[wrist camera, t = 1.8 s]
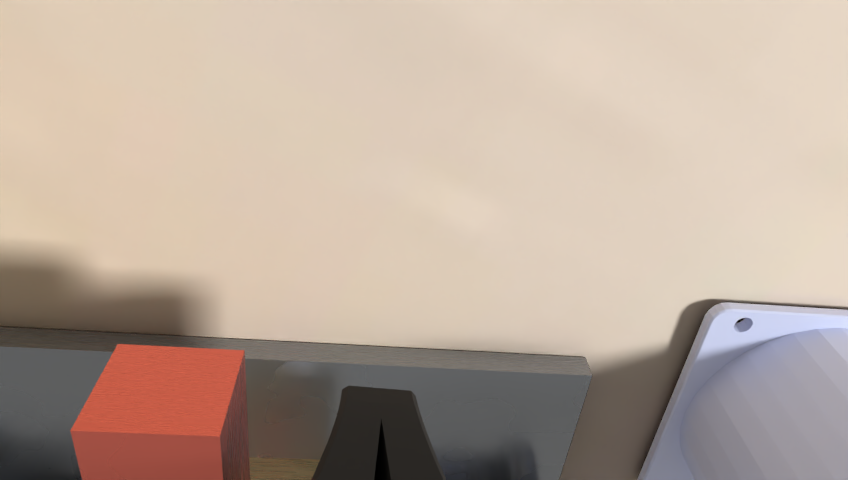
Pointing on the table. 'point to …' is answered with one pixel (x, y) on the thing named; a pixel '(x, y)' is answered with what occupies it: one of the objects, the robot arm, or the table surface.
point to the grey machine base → (308, 401)
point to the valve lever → (166, 416)
